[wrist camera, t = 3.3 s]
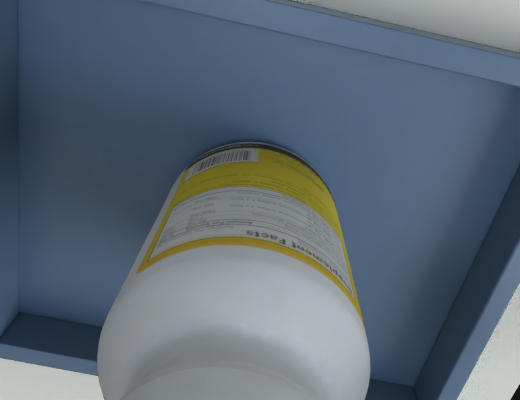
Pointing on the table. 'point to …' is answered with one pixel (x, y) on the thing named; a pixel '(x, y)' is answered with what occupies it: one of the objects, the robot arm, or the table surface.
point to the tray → (264, 131)
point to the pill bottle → (239, 290)
